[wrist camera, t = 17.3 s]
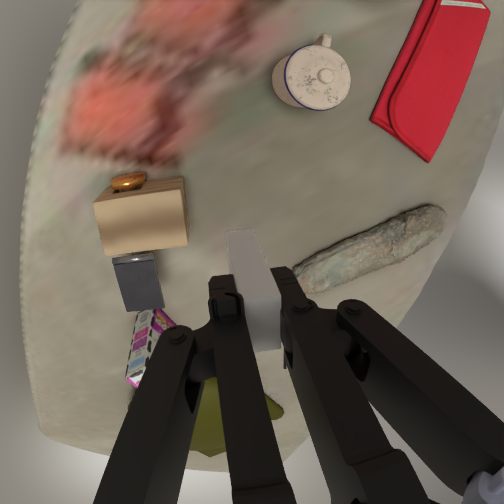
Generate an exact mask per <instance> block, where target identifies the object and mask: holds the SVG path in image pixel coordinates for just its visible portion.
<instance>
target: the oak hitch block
mask: <svg viewBox="0 0 504 504" xmlns="http://www.w3.org/2000/svg"><path fill="white" fill-rule="evenodd" d="M138 188H139V190H134V191H127V192H121V193H120V190H113V189H112V188H111V187H108V188H107V189H106V190H105V191H104V192H103V193H102V194H101V195H100V196H99V197H98V198H97V199H96V200H95V201H94V202H93V207H94V211H95V216H96V220H97V224H98V228H99V232H100V237H101V240H102V244H103V248H104V252H105V256H109V255H117V254H125V253H132V252H140V251H148V250H156V249H164V248H171V247H179V246H188V237H189V219H188V212H187V204H186V197H185V189H184V181H183V176H178V177H171V178H164V179H157V180H150V181H145V183H143V184H142V185H139V186H138Z"/></svg>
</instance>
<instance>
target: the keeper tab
mask: <svg viewBox="0 0 504 504" xmlns="http://www.w3.org/2000/svg"><path fill="white" fill-rule="evenodd" d="M112 263H113V266H114V269H115V273H116V277H117V280H118V284H119V287H120V291H121V294H122V297H123V301H124V304H125V307H126V310H127V312H131V311H141V310H151V309H161V308H165V304H164V299H163V295H162V291H161V287H160V282H159V278H158V273H157V269H156V264H155V259H154V254H153V253H148V254H140V255H132V256H124V257H117V258H112Z"/></svg>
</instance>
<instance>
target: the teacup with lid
mask: <svg viewBox="0 0 504 504" xmlns="http://www.w3.org/2000/svg"><path fill="white" fill-rule="evenodd" d="M331 42H332V37H331V36H330V35H329V34H326V33H323V34H321V35H320V36H319V37H318V38H317V39H316V41H315V42H314V44H313V45H307V46H304V47H301V48H299V49H297V50H296V51H295V52H294V53H292V54H291V55H289V56H287V57H285V58H283V59H282V60H280V61H279V62H278V63H277V65H276V66H275V68H274V70H273V73H272V85H273V88H274V91H275V93H276V94H277V96H278V97H279V98H280V99H281V100H282V101H283V102H285V103H286V104H288V105H291V106H294V107H301V108H308V109H311V110H316V111H323V110H328V109H331V108H334V107H336V106H337V105H339V104H340V103H341V102H342V101H343V100H344V99H345V97H346V96H347V94H348V91H349V89H350V83H351V77H350V72H349V68H348V66H347V64H346V62H345V61H344V59H343V58H342V57H341V56H340V55H339V54H338V53H337V52H335V51H334V50H332V49H330V46H331Z"/></svg>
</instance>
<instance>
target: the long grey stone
mask: <svg viewBox="0 0 504 504" xmlns="http://www.w3.org/2000/svg"><path fill="white" fill-rule="evenodd" d="M446 224H447V214H446V213H445V210H444V209H442V208H439V207H436V206H433V205H431V204H429V205H428V206H423V207H421V208H418V209H414V210H413V211H410V212H408V211H407V212H406V214H403V215H402V214H401V213H399V215H398V216H397V217H396V218H392V219H391V220H390V221H388V222H386V223H383V224H380V225H378V226H376V227H374V228H373V229H371V230H369V231H367V232H363V233H361V234H358V235H356V236H353V237H352V238H348V239H346V240H344V241H343V242H340V243H339V244H337V245H334V246H333V247H331V248H329V249H327V250H325V251H322V252H320V253H318V254H316V255H313V256H312V257H310V258H309V259H307V260H304V261H303V262H302V264H301V265H299V266H298V267H296V266H295V267H294V271H293V273H294V275H295V277H296V278H297V280H298V283H299V284H300V286H301V288H302V290H303V292H304V293H305V294H307V293H308V294H311V293H318V292H324V291H326V290H327V289H329V288H331V287H335V286H337V285H340V284H343V283H347V282H349V281H351V280H354V279H357V278H358V277H360V276H362V275H365V274H368V273H371V272H373V271H376V270H379V269H380V268H383V267H385V266H387V265H393V264H395V263H396V264H397V263H400V262H402V261H403V260H405V258H407V257H408V256H410V255H412V254H415V253H416V252H417V251H419V250H420V249H421V248H423V247H424V246H426V245H428V244H429V243H430V242H431V241H432V240H433V239H435V238H436V237H437V236H438V235H440V234H441V233H442V232H443V230H444V229H445V227H446Z"/></svg>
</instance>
